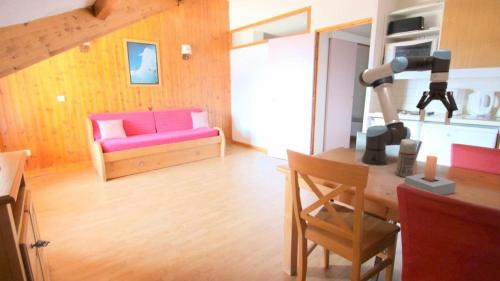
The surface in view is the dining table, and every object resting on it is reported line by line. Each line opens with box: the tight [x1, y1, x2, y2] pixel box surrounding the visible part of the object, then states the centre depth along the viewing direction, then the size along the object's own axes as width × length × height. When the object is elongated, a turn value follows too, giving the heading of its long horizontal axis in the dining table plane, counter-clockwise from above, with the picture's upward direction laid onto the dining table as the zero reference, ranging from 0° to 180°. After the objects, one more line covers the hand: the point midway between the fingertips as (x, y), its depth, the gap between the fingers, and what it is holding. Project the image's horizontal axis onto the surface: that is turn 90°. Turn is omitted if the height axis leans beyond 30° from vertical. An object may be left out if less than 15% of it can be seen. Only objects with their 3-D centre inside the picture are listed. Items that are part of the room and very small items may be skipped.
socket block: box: [404, 172, 457, 196], centre depth 121 cm, size 14×14×5 cm
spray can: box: [395, 138, 418, 178], centre depth 139 cm, size 8×8×20 cm
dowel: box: [424, 155, 438, 182], centre depth 120 cm, size 4×4×16 cm
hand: (433, 122), depth 135 cm, fingers open, 13 cm apart
